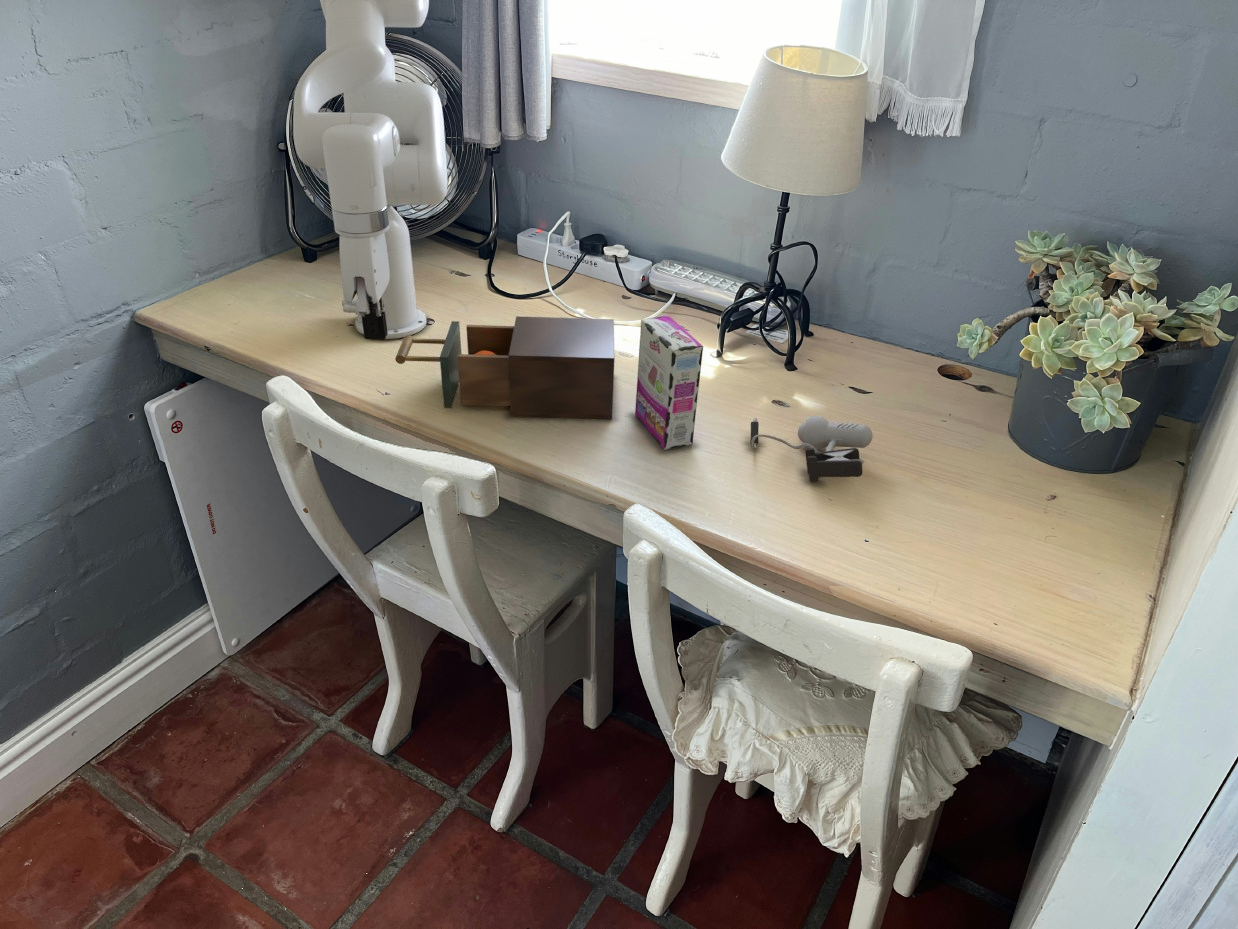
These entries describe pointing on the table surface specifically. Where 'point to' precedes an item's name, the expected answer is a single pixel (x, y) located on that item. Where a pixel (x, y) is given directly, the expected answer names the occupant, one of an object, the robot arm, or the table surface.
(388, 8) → the robot arm
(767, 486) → the table surface
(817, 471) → the clip-on lamp
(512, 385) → the cabinet
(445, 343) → the drawer
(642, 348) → the candy bar box
